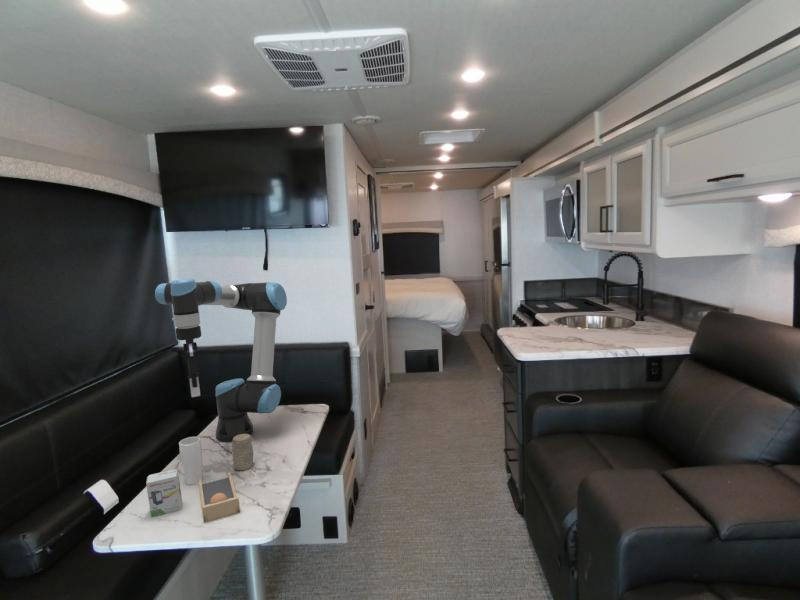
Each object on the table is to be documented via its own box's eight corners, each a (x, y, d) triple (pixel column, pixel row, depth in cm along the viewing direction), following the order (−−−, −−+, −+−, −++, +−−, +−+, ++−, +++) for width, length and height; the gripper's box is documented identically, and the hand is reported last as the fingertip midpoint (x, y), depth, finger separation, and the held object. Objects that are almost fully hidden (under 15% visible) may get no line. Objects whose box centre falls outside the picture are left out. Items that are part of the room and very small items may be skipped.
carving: (258, 464, 170) (255, 433, 169) (243, 474, 164) (240, 442, 162) (245, 462, 173) (242, 431, 171) (230, 471, 166) (226, 439, 165)
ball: (210, 513, 141) (208, 496, 143) (228, 508, 144) (225, 491, 145) (211, 512, 137) (209, 494, 139) (229, 507, 140) (226, 489, 141)
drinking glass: (209, 478, 162) (204, 437, 160) (195, 488, 156) (190, 446, 154) (193, 476, 164) (189, 435, 162) (179, 486, 158) (173, 443, 156)
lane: (199, 486, 157) (197, 472, 156) (230, 478, 161) (229, 464, 161) (204, 524, 136) (202, 508, 135) (240, 513, 140) (238, 498, 139)
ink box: (182, 503, 147) (178, 467, 146) (182, 511, 143) (177, 475, 141) (152, 510, 144) (147, 474, 142) (150, 519, 139) (145, 482, 138)
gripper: (174, 324, 157) (182, 392, 161) (175, 331, 146) (184, 403, 149) (199, 322, 161) (206, 388, 164) (201, 327, 149) (209, 399, 152)
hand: (195, 395), depth 156 cm, fingers closed
